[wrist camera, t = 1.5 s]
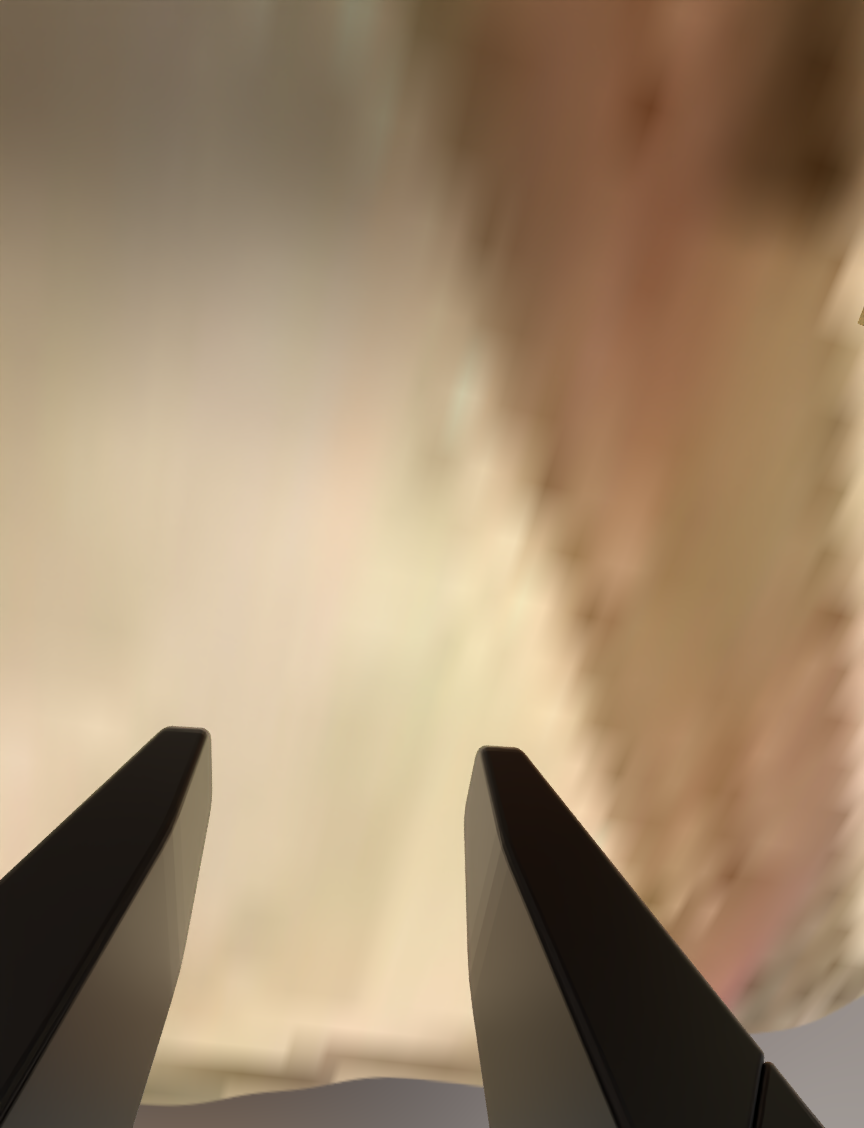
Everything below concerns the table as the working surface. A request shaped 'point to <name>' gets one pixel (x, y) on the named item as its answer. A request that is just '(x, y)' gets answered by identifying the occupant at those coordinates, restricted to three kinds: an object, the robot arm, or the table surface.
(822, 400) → the table surface
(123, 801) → the robot arm
